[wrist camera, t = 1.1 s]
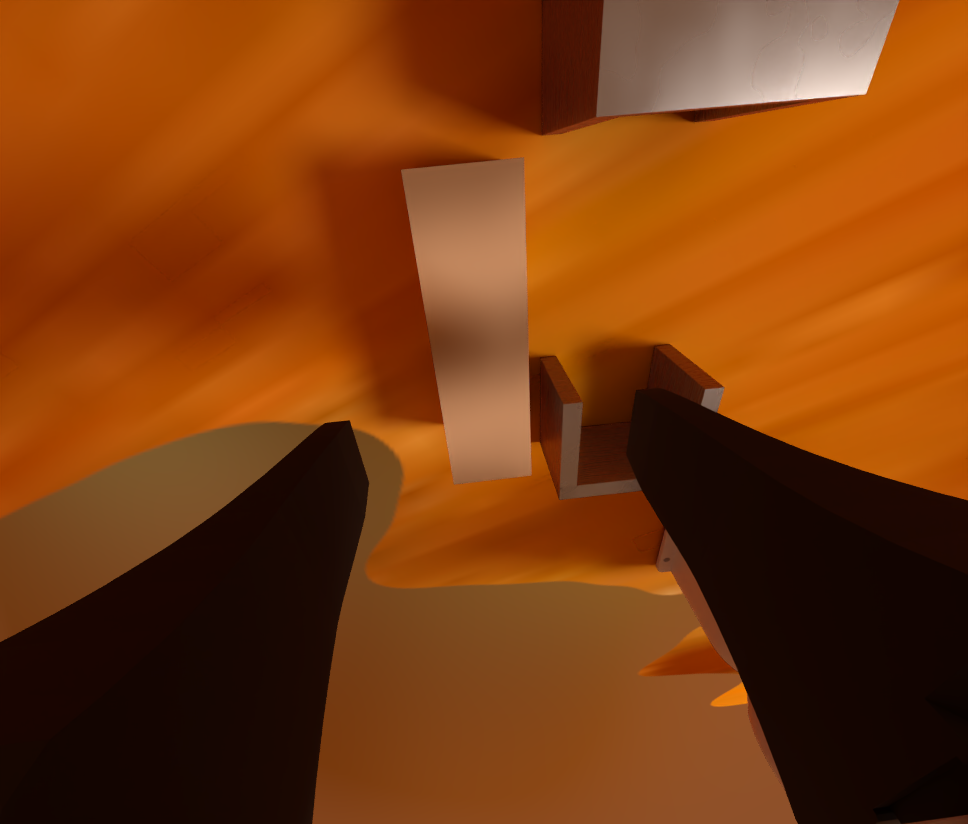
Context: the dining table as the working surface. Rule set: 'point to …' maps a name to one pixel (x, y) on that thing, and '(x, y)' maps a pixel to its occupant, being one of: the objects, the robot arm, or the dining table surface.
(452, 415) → the light brown long block
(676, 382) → the open end cap
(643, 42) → the grey rectangular block
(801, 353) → the dining table surface
